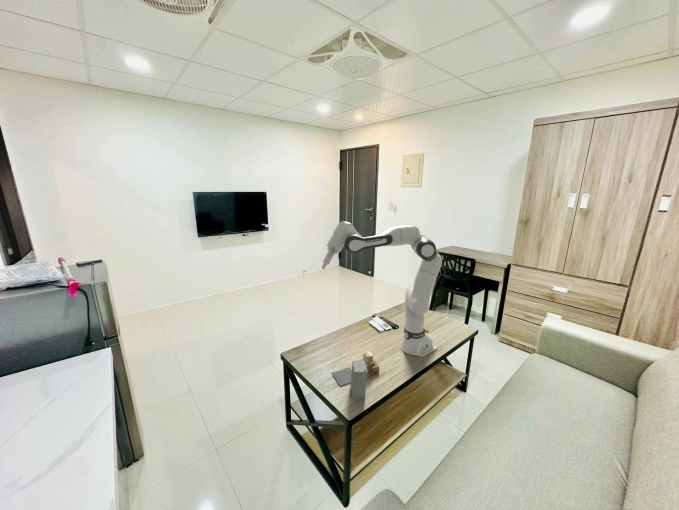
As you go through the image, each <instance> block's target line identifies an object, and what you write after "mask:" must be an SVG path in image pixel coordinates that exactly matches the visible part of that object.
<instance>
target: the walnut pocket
mask: <svg viewBox="0 0 679 510" xmlns="http://www.w3.org/2000/svg"><path fill="white" fill-rule="evenodd" d="M358 361H363V359H360V360H358ZM367 372H368V373H367V377H370V376H373V375H376V374H379V373H380V366H379V364H378V363H377V362H376V361H375V360H374V359H373V366H372V367H369V368H367Z"/></svg>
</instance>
